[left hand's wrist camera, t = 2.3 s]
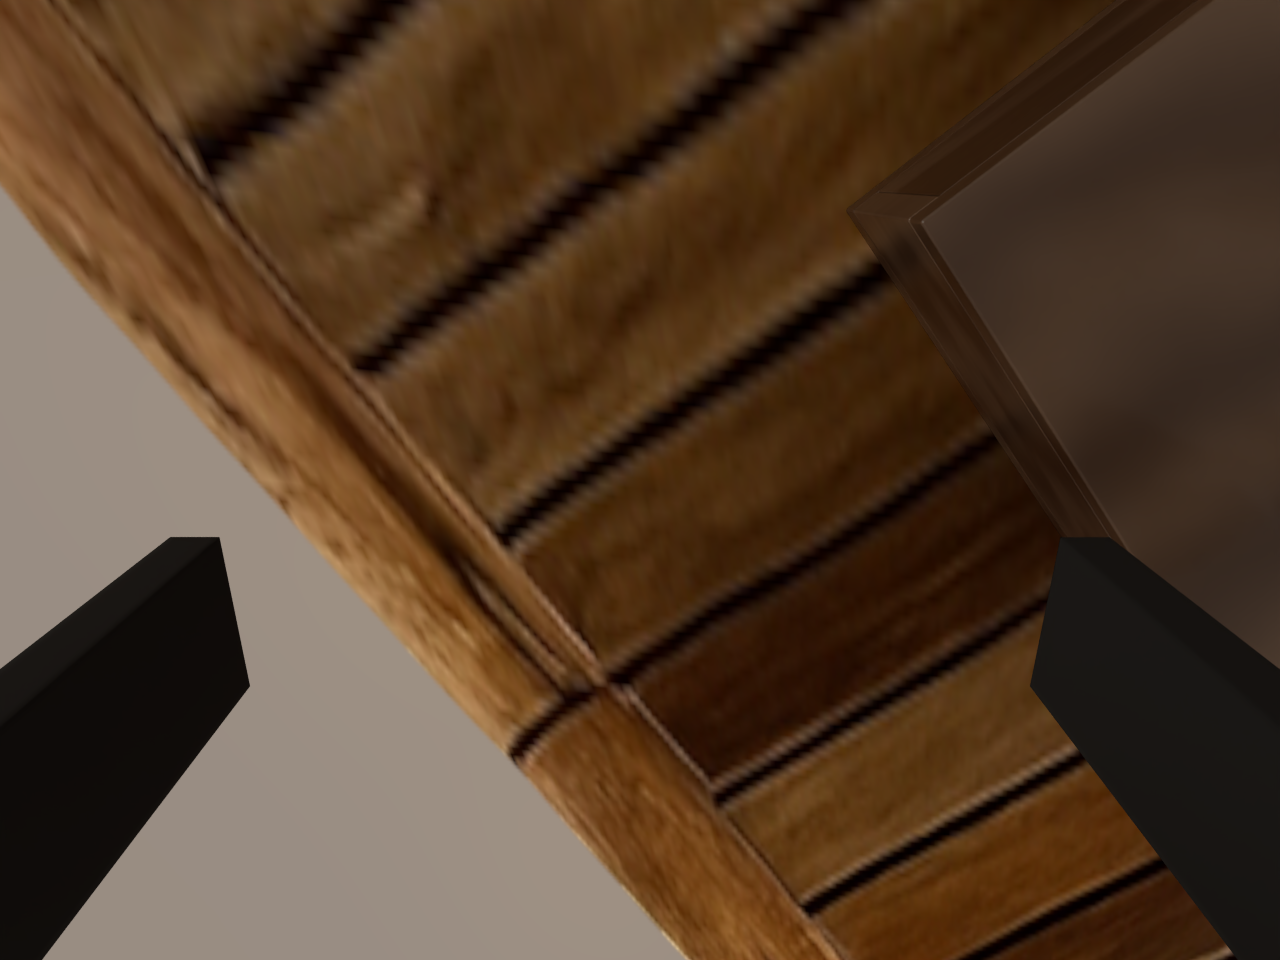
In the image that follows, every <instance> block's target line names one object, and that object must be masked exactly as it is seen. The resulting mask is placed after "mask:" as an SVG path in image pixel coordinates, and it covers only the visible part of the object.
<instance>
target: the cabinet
mask: <svg viewBox="0 0 1280 960" xmlns="http://www.w3.org/2000/svg"><path fill="white" fill-rule="evenodd" d="M847 213H848V214H849V216H850V217H851V219H852V220H853V222H854V223H855V225H856V227H857V228H858V230H859V231H860V233H861V234H862V236H863V237H864V239H865V240H866V242H867V243H868V245H869V246H870V248H871V249H872V251H873V252H874V254H875V255H876V257H877V258H878V260H879V261H880V263H881V264H882V266H883V267H884V269H885V270H886V272H887V273H888V275H889V276H890V278H891V280H892V281H893V283H894V284H895V286H896V287H897V289H898V290H899V292H900V293H901V295H902V296H903V298H904V299H905V301H906V302H907V304H908V305H909V307H910V308H911V310H912V311H913V313H914V314H915V316H916V317H917V319H918V320H919V322H920V323H921V325H922V326H923V328H924V329H925V331H926V333H927V334H928V336H929V337H930V339H931V340H932V342H933V343H934V345H935V346H936V348H937V349H938V351H939V352H940V354H941V355H942V357H943V358H944V360H945V361H946V363H947V364H948V366H949V367H950V369H951V370H952V372H953V373H954V375H955V376H956V378H957V379H958V381H959V382H960V384H961V386H962V387H963V389H964V390H965V392H966V393H967V395H968V396H969V398H970V399H971V401H972V402H973V404H974V405H975V407H976V408H977V410H978V411H979V413H980V414H981V416H982V417H983V419H984V420H985V422H986V423H987V425H988V426H989V428H990V429H991V431H992V432H993V434H994V435H995V437H996V439H997V440H998V442H999V443H1000V445H1001V446H1002V448H1003V449H1004V451H1005V452H1006V454H1007V455H1008V457H1009V458H1010V460H1011V461H1012V463H1013V464H1014V466H1015V467H1016V469H1017V470H1018V472H1019V473H1020V475H1021V476H1022V478H1023V479H1024V481H1025V482H1026V484H1027V485H1028V487H1029V488H1030V490H1031V491H1032V493H1033V495H1034V496H1035V498H1036V499H1037V501H1038V502H1039V504H1040V505H1041V507H1042V508H1043V510H1044V511H1045V513H1046V514H1047V516H1048V517H1049V519H1050V520H1051V522H1052V523H1053V525H1054V526H1055V528H1056V529H1057V531H1058V532H1059V534H1060V535H1061V537H1110V538H1111V539H1113V540H1114V541H1115V542H1117V543H1118V544H1119V545H1120V546H1122V547H1123V548H1124V549H1126V550H1127V551H1128V552H1129V553H1131V554H1132V555H1133V556H1135V557H1136V558H1137V559H1138V560H1140V561H1141V562H1142V563H1144V564H1145V565H1146V566H1148V567H1149V568H1150V569H1151V570H1153V571H1154V572H1155V573H1157V574H1158V575H1159V576H1160V577H1162V578H1163V579H1164V580H1166V581H1167V582H1168V583H1169V584H1171V585H1172V586H1173V587H1175V588H1176V589H1177V590H1178V591H1180V592H1181V593H1182V594H1184V595H1185V596H1186V597H1187V598H1189V599H1190V600H1191V601H1193V602H1194V603H1195V604H1196V605H1198V606H1199V607H1200V608H1202V609H1203V610H1204V611H1206V612H1207V613H1208V614H1209V615H1211V616H1212V617H1213V618H1215V619H1216V620H1217V621H1218V622H1220V623H1221V624H1222V625H1224V626H1225V627H1226V628H1227V629H1229V630H1230V631H1231V632H1233V633H1234V634H1235V635H1236V636H1238V637H1239V638H1240V639H1242V640H1243V641H1244V642H1245V643H1247V644H1248V645H1249V646H1251V647H1252V648H1253V649H1255V650H1256V651H1257V652H1258V653H1260V654H1261V655H1262V656H1264V657H1265V658H1266V659H1267V660H1269V661H1270V662H1271V663H1273V664H1274V665H1275V666H1276V667H1278V668H1279V669H1280V0H1116V1H1114V2H1113V3H1112V4H1110V5H1109V6H1108V7H1106V8H1105V9H1104V10H1103V11H1101V12H1100V13H1099V14H1097V15H1096V16H1095V17H1094V18H1092V19H1091V20H1090V21H1088V22H1087V23H1086V24H1085V25H1083V26H1082V27H1081V28H1079V29H1078V30H1077V31H1076V32H1074V33H1073V34H1072V35H1070V36H1069V37H1068V38H1067V39H1065V40H1064V41H1063V42H1061V43H1060V44H1059V45H1058V46H1056V47H1055V48H1054V49H1052V50H1051V51H1050V52H1048V53H1047V54H1046V55H1045V56H1043V57H1042V58H1041V59H1039V60H1038V61H1037V62H1036V63H1034V64H1033V65H1032V66H1030V67H1029V68H1028V69H1027V70H1025V71H1024V72H1023V73H1021V74H1020V75H1019V76H1018V77H1016V78H1015V79H1014V80H1012V81H1011V82H1010V83H1009V84H1007V85H1006V86H1005V87H1003V88H1002V89H1001V90H1000V91H998V92H997V93H996V94H994V95H993V96H992V97H991V98H989V99H988V100H987V101H985V102H984V103H983V104H981V105H980V106H979V107H978V108H976V109H975V110H974V111H972V112H971V113H970V114H969V115H967V116H966V117H965V118H963V119H962V120H961V121H960V122H958V123H957V124H956V125H954V126H953V127H952V128H951V129H949V130H948V131H947V132H945V133H944V134H943V135H942V136H940V137H939V138H938V139H936V140H935V141H934V142H933V143H931V144H930V145H929V146H927V147H926V148H925V149H923V150H922V151H921V152H920V153H918V154H917V155H916V156H914V157H913V158H912V159H911V160H909V161H908V162H907V163H905V164H904V165H903V166H902V167H900V168H899V169H898V170H896V171H895V172H894V173H893V174H891V175H890V176H889V177H887V178H886V179H885V180H884V181H882V182H881V183H880V184H878V185H877V186H876V187H875V188H873V189H872V190H871V191H869V192H868V193H867V194H865V195H864V196H863V197H862V198H860V199H859V200H858V201H856V202H855V203H854V204H853V205H851V206H850V207H849V208H848V209H847Z"/></svg>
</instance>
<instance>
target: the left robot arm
mask: <svg viewBox="0 0 1280 960" xmlns="http://www.w3.org/2000/svg"><path fill="white" fill-rule="evenodd" d="M249 687H250V684H249V679H248V674H247V669H246V664H245V660H244V655H243V650H242V645H241V640H240V635H239V630H238V625H237V621H236V616H235V611H234V606H233V601H232V596H231V591H230V587H229V582H228V577H227V572H226V567H225V562H224V557H223V552H222V548H221V543H220V538H219V537H170V538H169V539H167V540H166V541H165V542H163V543H162V544H161V545H160V546H158V547H157V548H156V549H154V550H153V551H152V552H151V553H149V554H148V555H147V556H145V557H144V558H143V559H142V560H140V561H139V562H138V563H136V564H135V565H134V566H133V567H131V568H130V569H129V570H127V571H126V572H125V573H123V574H122V575H121V576H120V577H118V578H117V579H116V580H114V581H113V582H112V583H111V584H109V585H108V586H107V587H105V588H104V589H103V590H102V591H100V592H99V593H98V594H96V595H95V596H94V597H93V598H91V599H90V600H89V601H87V602H86V603H85V604H84V605H82V606H81V607H80V608H78V609H77V610H76V611H75V612H73V613H72V614H71V615H69V616H68V617H67V618H65V619H64V620H63V621H62V622H60V623H59V624H58V625H56V626H55V627H54V628H53V629H51V630H50V631H49V632H47V633H46V634H45V635H44V636H42V637H41V638H40V639H38V640H37V641H36V642H35V643H33V644H32V645H31V646H29V647H28V648H27V649H25V650H24V651H23V652H22V653H20V654H19V655H18V656H17V657H15V658H14V659H13V660H11V661H10V662H9V663H7V664H6V665H5V666H4V667H2V668H1V669H0V960H42V959H43V958H44V956H45V955H46V954H47V953H48V951H49V950H50V949H51V947H52V946H53V945H54V943H55V942H56V941H57V939H58V938H59V937H60V935H61V934H62V933H63V931H64V930H65V929H66V928H67V926H68V925H69V924H70V922H71V921H72V920H73V918H74V917H75V916H76V914H77V913H78V912H79V910H80V909H81V908H82V906H83V905H84V904H85V902H86V901H87V900H88V899H89V897H90V896H91V895H92V893H93V892H94V891H95V889H96V888H97V887H98V885H99V884H100V883H101V881H102V880H103V879H104V877H105V876H106V875H107V874H108V872H109V871H110V870H111V868H112V867H113V866H114V864H115V863H116V862H117V860H118V859H119V858H120V856H121V855H122V854H123V853H124V851H125V850H126V849H127V847H128V846H129V845H130V843H131V842H132V841H133V839H134V838H135V837H136V835H137V834H138V833H139V831H140V830H141V829H142V827H143V826H144V825H145V824H146V822H147V821H148V820H149V818H150V817H151V816H152V814H153V813H154V812H155V810H156V809H157V808H158V806H159V805H160V804H161V803H162V801H163V800H164V799H165V797H166V796H167V795H168V793H169V792H170V791H171V789H172V788H173V787H174V785H175V784H176V783H177V781H178V780H179V779H180V777H181V776H182V775H183V774H184V772H185V771H186V770H187V768H188V767H189V766H190V764H191V763H192V762H193V760H194V759H195V758H196V756H197V755H198V754H199V753H200V751H201V750H202V748H203V747H204V746H205V745H206V743H207V742H208V741H209V739H210V738H211V737H212V735H213V734H214V733H215V731H216V730H217V729H218V728H219V726H220V725H221V723H222V722H223V721H224V720H225V718H226V717H227V716H228V714H229V713H230V712H231V710H232V709H233V708H234V706H235V705H236V704H237V702H238V701H239V700H240V699H241V697H242V696H243V695H244V693H245V692H246V691H247V689H248V688H249ZM1030 687H1031V688H1032V689H1033V691H1034V692H1035V693H1036V695H1037V696H1038V697H1039V699H1040V700H1041V701H1042V702H1043V704H1044V705H1045V706H1046V708H1047V709H1048V710H1049V712H1050V713H1051V714H1052V716H1053V717H1054V718H1055V720H1056V721H1057V722H1058V724H1059V725H1060V726H1061V728H1062V729H1063V730H1064V731H1065V733H1066V734H1067V735H1068V737H1069V738H1070V739H1071V741H1072V742H1073V743H1074V745H1075V746H1076V747H1077V749H1078V750H1079V751H1080V753H1081V754H1082V755H1083V756H1084V758H1085V759H1086V760H1087V762H1088V763H1089V764H1090V766H1091V767H1092V768H1093V770H1094V771H1095V772H1096V774H1097V775H1098V776H1099V778H1100V779H1101V780H1102V781H1103V783H1104V784H1105V785H1106V787H1107V788H1108V789H1109V791H1110V792H1111V793H1112V795H1113V796H1114V797H1115V799H1116V800H1117V801H1118V803H1119V804H1120V805H1121V806H1122V808H1123V809H1124V810H1125V812H1126V813H1127V814H1128V816H1129V817H1130V818H1131V820H1132V821H1133V822H1134V824H1135V825H1136V826H1137V828H1138V829H1139V830H1140V831H1141V833H1142V834H1143V835H1144V837H1145V838H1146V839H1147V841H1148V842H1149V843H1150V845H1151V846H1152V847H1153V849H1154V850H1155V851H1156V853H1157V854H1158V855H1159V856H1160V858H1161V859H1162V860H1163V862H1164V863H1165V864H1166V866H1167V867H1168V868H1169V870H1170V871H1171V872H1172V874H1173V875H1174V876H1175V878H1176V879H1177V880H1178V881H1179V883H1180V884H1181V885H1182V887H1183V888H1184V889H1185V891H1186V892H1187V893H1188V895H1189V896H1190V897H1191V899H1192V900H1193V901H1194V903H1195V904H1196V905H1197V906H1198V908H1199V909H1200V910H1201V912H1202V913H1203V914H1204V916H1205V917H1206V918H1207V920H1208V921H1209V922H1210V924H1211V925H1212V926H1213V928H1214V929H1215V930H1216V931H1217V933H1218V934H1219V935H1220V937H1221V938H1222V939H1223V941H1224V942H1225V943H1226V945H1227V946H1228V947H1229V949H1230V950H1231V951H1232V953H1233V954H1234V955H1235V956H1236V958H1237V959H1238V960H1280V669H1279V668H1278V667H1276V666H1275V665H1274V664H1273V663H1271V662H1270V661H1269V660H1267V659H1266V658H1265V657H1264V656H1262V655H1261V654H1260V653H1258V652H1257V651H1256V650H1255V649H1253V648H1252V647H1251V646H1249V645H1248V644H1247V643H1245V642H1244V641H1243V640H1242V639H1240V638H1239V637H1238V636H1236V635H1235V634H1234V633H1233V632H1231V631H1230V630H1229V629H1227V628H1226V627H1225V626H1224V625H1222V624H1221V623H1220V622H1218V621H1217V620H1216V619H1215V618H1213V617H1212V616H1211V615H1209V614H1208V613H1207V612H1206V611H1204V610H1203V609H1202V608H1200V607H1199V606H1198V605H1196V604H1195V603H1194V602H1193V601H1191V600H1190V599H1189V598H1187V597H1186V596H1185V595H1184V594H1182V593H1181V592H1180V591H1178V590H1177V589H1176V588H1175V587H1173V586H1172V585H1171V584H1169V583H1168V582H1167V581H1166V580H1164V579H1163V578H1162V577H1160V576H1159V575H1158V574H1157V573H1155V572H1154V571H1153V570H1151V569H1150V568H1149V567H1148V566H1146V565H1145V564H1144V563H1142V562H1141V561H1140V560H1138V559H1137V558H1136V557H1135V556H1133V555H1132V554H1131V553H1129V552H1128V551H1127V550H1126V549H1124V548H1123V547H1122V546H1120V545H1119V544H1118V543H1117V542H1115V541H1114V540H1113V539H1111V538H1110V537H1061V538H1060V543H1059V548H1058V552H1057V557H1056V562H1055V567H1054V572H1053V577H1052V582H1051V586H1050V591H1049V596H1048V601H1047V606H1046V611H1045V616H1044V621H1043V625H1042V630H1041V635H1040V640H1039V645H1038V650H1037V655H1036V660H1035V664H1034V669H1033V674H1032V679H1031V684H1030Z"/></svg>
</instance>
